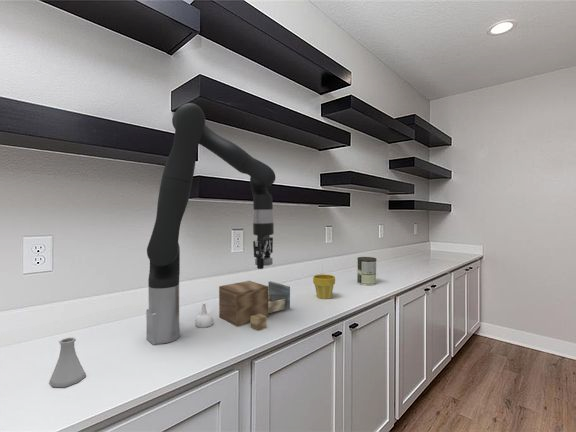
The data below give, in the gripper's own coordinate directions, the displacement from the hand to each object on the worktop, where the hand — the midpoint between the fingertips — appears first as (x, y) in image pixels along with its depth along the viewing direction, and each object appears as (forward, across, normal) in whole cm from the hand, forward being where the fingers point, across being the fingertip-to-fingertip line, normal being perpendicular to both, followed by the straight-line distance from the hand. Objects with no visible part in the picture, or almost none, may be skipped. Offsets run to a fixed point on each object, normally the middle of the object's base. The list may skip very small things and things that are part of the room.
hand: (263, 266), depth 118 cm
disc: (-1, 0, 0) cm, 1 cm away
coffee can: (+22, +71, -33) cm, 82 cm away
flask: (+20, -52, +31) cm, 64 cm away
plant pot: (+21, +38, -15) cm, 46 cm away
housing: (+20, +1, +9) cm, 22 cm away
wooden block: (+20, -7, 0) cm, 21 cm away
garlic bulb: (+20, -10, +19) cm, 30 cm away
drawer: (+19, +11, +3) cm, 22 cm away
